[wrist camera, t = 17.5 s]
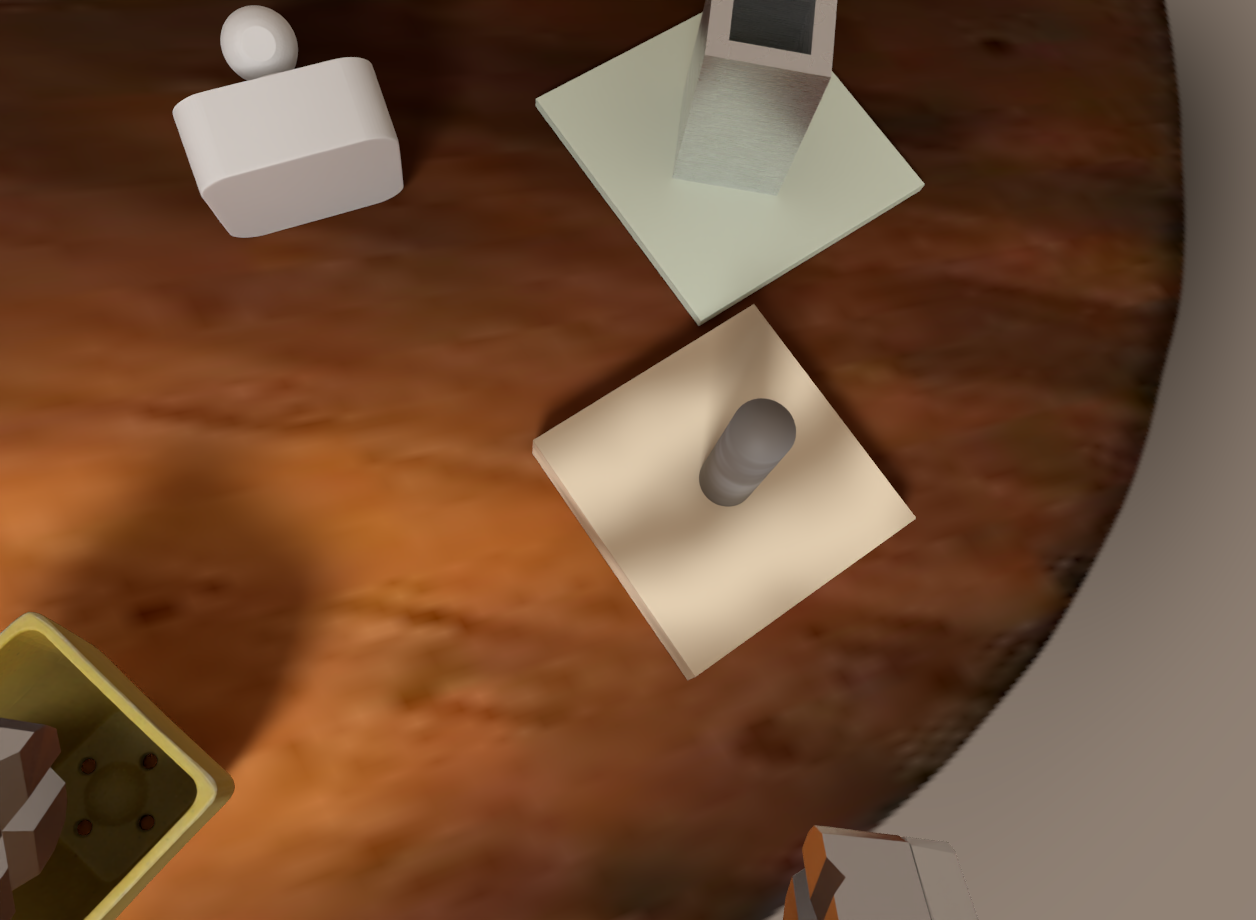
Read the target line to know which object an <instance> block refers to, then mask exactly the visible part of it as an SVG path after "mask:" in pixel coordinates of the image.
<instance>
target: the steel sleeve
mask: <svg viewBox="0 0 1256 920" xmlns="http://www.w3.org/2000/svg"><path fill="white" fill-rule="evenodd" d="M836 10H837V0H706V1H705V5H704V9H703V13H702V17H701V21H700V25H699V29H698V34H697V38H696V42H695V46H694V50H693V54H692V58H691V62H690V66H689V70H688V74H687V78H686V82H685V87H684V93H683V100H682V108H681V116H680V123H679V131H678V139H677V147H676V154H675V162H674V170H673V178H675V179H681V180H686V181H692V182H698V183H704V184H710V185H716V186H722V187H728V188H734V189H740V190H745V191H751V192H757V193H763V194H769V195H775V196H777V194H778V192H779V190H780V188H781V186H782V184H783V181H784V179H785V177H786V175H787V173H788V170H789V168H790V166H791V164H792V162H793V160H794V157H795V155H796V153H797V151H798V149H799V146H800V144H801V142H802V140H803V138H804V136H805V133H806V131H807V129H808V127H809V125H810V122H811V120H812V118H813V116H814V114H815V112H816V109H817V107H818V105H819V103H820V101H821V98H822V96H823V94H824V92H825V90H826V88H827V85H828V83H829V81H830V79H831V73H832V61H833V48H834V35H835V22H836Z"/></svg>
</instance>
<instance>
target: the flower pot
mask: <svg viewBox="0 0 1256 920" xmlns="http://www.w3.org/2000/svg"><path fill="white" fill-rule="evenodd" d="M0 718H6V719H13V720H19V721H25V722H32V723H38V724H44V725H48V726H51V727H54V728H56V729H57V733H58V739H59V744H60V749H61V753H60V754H59V756H58V757H57V758H56V760H55V761H54V763H53V764H52V766H51V768H52V769H53V770H54V772H55V773H56V774H57V775H58V776H59V777H60V778H61V779H62V780H63V781H64V782H65V783H66V792H67V809H66V818H65V823H64V826H63V828H62V831H61V834H60V837H59V839H58V842H57V845H56V848H55V850H54V852H53V853H52V855H51V857H50V858H49V860H48V862H47V863H46V865H45V866H44V868H43V870H42V871H41V873H40V874H39V875H37V876H36V877H34V878H32V879H31V880H29V881H28V882H26V883H24V884H23V885H21V886H19V887H18V888H16V889H14V890H13V891H12V893H13V899H14V904H15V910H16V912H15V914H14V915H13V917H12V918H11V920H115V919H116V918H117V917H118V916H119V915H120V913H121V912H122V911H123V910H124V909H125V908H126V907H127V906H128V905H129V904H130V903H131V902H132V900H133V899H134V898H135V897H136V896H137V895H138V894H139V893H140V892H141V891H142V890H143V889H144V888H145V887H146V885H147V884H148V883H149V882H150V881H151V880H152V879H153V878H154V877H155V876H156V875H157V874H158V873H159V872H160V871H161V870H162V868H163V867H164V866H165V865H166V864H167V863H168V862H169V861H170V860H171V859H172V858H173V857H174V856H175V855H176V854H177V853H178V852H179V851H180V850H181V849H182V848H183V846H184V845H185V844H186V843H187V842H188V841H189V840H190V839H191V838H192V837H193V836H194V835H195V834H196V833H197V832H198V831H199V830H200V829H201V828H202V827H203V826H204V825H205V824H206V823H207V822H208V821H209V820H210V819H211V818H212V817H213V816H214V815H215V814H216V813H217V812H218V811H219V810H220V809H221V808H222V807H223V806H224V805H225V803H226V802H227V801H228V800H229V799H230V798H231V796H232V794H233V792H234V788H235V785H234V781H233V779H232V777H231V776H230V775H229V774H228V773H227V772H226V771H225V770H224V769H223V768H222V767H221V766H220V765H219V764H218V763H217V762H216V761H214V760H213V759H212V758H211V757H210V756H209V755H208V754H207V753H206V752H205V751H204V750H202V749H201V748H200V747H199V746H198V745H197V744H196V743H195V742H194V741H193V740H192V739H191V738H190V737H189V736H187V735H186V734H185V733H184V732H183V731H182V730H181V729H180V728H179V727H178V726H177V725H176V724H175V723H174V722H172V721H171V720H170V719H169V718H168V717H167V716H166V715H165V714H164V713H163V712H162V711H161V710H160V709H159V708H158V707H157V706H156V705H155V704H154V703H153V702H152V701H151V700H150V699H148V698H147V697H146V696H145V695H144V694H143V693H142V692H141V691H140V690H139V689H138V688H137V687H136V686H135V685H134V684H133V683H132V682H131V681H130V680H129V679H128V678H127V677H126V676H125V675H124V674H123V673H122V672H121V671H120V670H119V669H118V668H117V667H116V666H115V665H114V664H113V663H112V662H111V661H110V660H109V659H108V658H107V657H106V656H105V655H104V654H103V653H102V652H101V651H99V650H98V649H97V648H96V647H94V646H93V645H92V644H90V643H88V642H87V641H85V640H83V639H82V638H80V637H79V636H77V635H75V634H74V633H72V632H70V631H69V630H67V629H65V628H64V627H62V626H60V625H59V624H57V623H55V622H54V621H52V620H50V619H48V618H47V617H45V616H43V615H41V614H38V613H35V612H27V613H25V614H23V615H22V616H20V617H19V618H17V619H16V620H15V621H14V622H12V623H11V624H10V625H9V626H8V627H7V628H6V629H5V630H3V631H2V632H1V633H0ZM149 754H153V755H155V756H156V757H157V764H156V766H155V767H153V768H152V769H147V768H145V767H144V766H143V759H144V758H145V756H147V755H149ZM87 759H93V760H94V761H95V762H96V768H95V770H94V771H93V772H92V773H89V774H86V773H84V772H83V771H82V770H81V766H82V764H83V762H84V761H85V760H87ZM144 815H151V816H152V817H153V818H154V820H155V822H154V825H153V827H152V828H151V829H149V830H142V829H141V828H140V826H139V821H140V819H141V818H142V817H143V816H144ZM83 820H88V821H90V822H91V823H92V830H91V832H90V833H89V834H87V835H80V834H79V833H78V831H77V827H78V824H79V823H80V822H81V821H83Z"/></svg>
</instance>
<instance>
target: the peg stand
mask: <svg viewBox="0 0 1256 920" xmlns="http://www.w3.org/2000/svg"><path fill="white" fill-rule="evenodd" d="M533 455H534V456H535V458H536V459H537V461H538V462H539V464H540V465H541V467H542V468H543V470H544V471H545V473H546V474H547V475H548V477H549V478H550V480H551V481H552V483H553V484H554V486H555V487H556V489H557V490H558V492H559V493H560V494H561V496H562V497H563V499H564V500H565V502H566V503H567V505H568V506H569V508H570V509H571V511H572V512H573V513H574V515H575V516H576V518H577V519H578V521H579V522H580V524H581V525H582V527H583V528H584V530H585V531H586V532H587V534H588V535H589V537H590V538H591V540H592V541H593V543H594V544H595V546H596V547H597V548H598V550H599V551H600V553H601V554H602V556H603V557H604V559H605V560H606V562H607V563H608V565H609V566H610V567H611V569H612V570H613V572H614V573H615V575H616V576H617V578H618V579H619V581H620V582H621V584H622V585H623V586H624V588H625V589H626V591H627V592H628V594H629V595H630V597H631V598H632V600H633V601H634V603H635V604H636V605H637V607H638V608H639V610H640V611H641V613H642V614H643V616H644V617H645V619H646V620H647V622H648V623H649V624H650V626H651V627H652V629H653V630H654V632H655V633H656V635H657V636H658V638H659V639H660V641H661V642H662V643H663V645H664V646H665V648H666V649H667V651H668V652H669V654H670V655H671V657H672V658H673V660H674V661H675V662H676V664H677V665H678V667H679V668H680V670H681V671H682V673H683V674H684V676H685V677H686V678H687V680H689V679H692V678H694V677H696V676H697V675H699V674H700V673H701V672H703V671H704V670H706V669H707V668H708V667H710V666H711V665H713V664H714V663H715V662H717V661H718V660H719V659H721V658H722V657H724V656H725V655H726V654H728V653H729V652H731V651H732V650H733V649H735V648H736V647H738V646H739V645H740V644H742V643H743V642H745V641H746V640H747V639H749V638H750V637H752V636H753V635H754V634H756V633H757V632H758V631H760V630H761V629H763V628H764V627H765V626H767V625H768V624H770V623H771V622H772V621H774V620H775V619H777V618H778V617H779V616H781V615H782V614H784V613H785V612H786V611H788V610H789V609H791V608H792V607H793V606H795V605H796V604H797V603H799V602H800V601H802V600H803V599H804V598H806V597H807V596H809V595H810V594H811V593H813V592H814V591H816V590H817V589H818V588H820V587H821V586H823V585H824V584H825V583H827V582H828V581H830V580H831V579H832V578H834V577H835V576H836V575H838V574H839V573H841V572H842V571H843V570H845V569H846V568H848V567H849V566H850V565H852V564H853V563H855V562H856V561H857V560H859V559H860V558H862V557H863V556H864V555H866V554H867V553H869V552H870V551H871V550H873V549H874V548H875V547H877V546H878V545H880V544H881V543H882V542H884V541H885V540H887V539H888V538H889V537H891V536H892V535H894V534H895V533H896V532H898V531H899V530H901V529H902V528H903V527H905V526H906V525H908V524H909V523H910V522H912V521H913V520H914V519H916V517H915V516H914V515H913V513H912V512H911V511H910V509H909V508H908V507H907V505H906V504H905V503H904V501H903V500H902V499H901V497H900V496H899V495H898V493H897V492H896V491H895V490H894V488H893V487H892V486H891V484H890V483H889V482H888V480H887V479H886V478H885V476H884V475H883V474H882V472H881V471H880V470H879V468H878V467H877V466H876V464H875V463H874V462H873V460H872V459H871V458H870V457H869V455H868V454H867V453H866V451H865V450H864V449H863V447H862V446H861V445H860V443H859V442H858V441H857V439H856V438H855V437H854V435H853V434H852V433H851V431H850V430H849V429H848V428H847V426H846V425H845V424H844V422H843V421H842V420H841V418H840V417H839V416H838V414H837V413H836V412H835V410H834V409H833V408H832V406H831V405H830V404H829V402H828V401H827V400H826V398H825V397H824V396H823V395H822V393H821V392H820V391H819V389H818V388H817V387H816V385H815V384H814V383H813V381H812V380H811V379H810V377H809V376H808V375H807V373H806V372H805V371H804V369H803V368H802V367H801V365H800V364H799V363H798V362H797V360H796V359H795V358H794V356H793V355H792V354H791V352H790V351H789V350H788V348H787V347H786V346H785V344H784V343H783V342H782V340H781V339H780V338H779V336H778V335H777V334H776V332H775V331H774V330H773V329H772V327H771V326H770V325H769V323H768V322H767V321H766V319H765V318H764V317H763V315H762V314H761V313H760V311H759V310H758V309H757V307H756V306H755V305H754V304H753V305H752V306H750V307H748V308H747V309H745V310H743V311H742V312H740V313H739V314H737V315H735V316H734V317H732V318H730V319H729V320H727V321H726V322H724V323H722V324H721V325H719V326H718V327H716V328H714V329H713V330H711V331H709V332H708V333H706V334H705V335H703V336H701V337H700V338H698V339H696V340H695V341H693V342H692V343H690V344H688V345H687V346H685V347H683V348H682V349H680V350H679V351H677V352H675V353H674V354H672V355H671V356H669V357H667V358H666V359H664V360H662V361H661V362H659V363H658V364H656V365H654V366H653V367H651V368H649V369H648V370H646V371H645V372H643V373H641V374H640V375H638V376H636V377H635V378H633V379H632V380H630V381H628V382H627V383H625V384H623V385H622V386H620V387H619V388H617V389H615V390H614V391H612V392H611V393H609V394H607V395H606V396H604V397H602V398H601V399H599V400H598V401H596V402H594V403H593V404H591V405H589V406H588V407H586V408H585V409H583V410H581V411H580V412H578V413H576V414H575V415H573V416H572V417H570V418H568V419H567V420H565V421H563V422H562V423H560V424H559V425H557V426H555V427H554V428H552V429H551V430H549V431H547V432H546V433H544V434H542V435H541V436H539V437H538V438H536V439H534V440H533Z"/></svg>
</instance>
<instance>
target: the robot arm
mask: <svg viewBox="0 0 1256 920" xmlns="http://www.w3.org/2000/svg"><path fill="white" fill-rule="evenodd" d="M60 753H61V749H60V744H59V739H58V733H57V729H56V728H54V727H51V726H48V725H44V724H38V723H32V722H25V721H19V720H13V719H6V718H0V920H11V918H12V917H13V915H14V914H15V912H16V910H15V904H14V899H13V893H12V891H13V890H14V889H16V888H18V887H19V886H21V885H23V884H24V883H26V882H28V881H29V880H31V879H32V878H34V877H36V876H37V875H39V874H40V873H41V871H42V870H43V868H44V866H45V865H46V863H47V862H48V860H49V858H50V857H51V855H52V853H53V852H54V850H55V848H56V845H57V842H58V839H59V837H60V834H61V831H62V828H63V826H64V823H65V818H66V809H67V792H66V783H65V782H64V781H63V780H62V779H61V778H60V777H59V776H58V775H57V774H56V773H55V772H54V770H53V769H52V768H51V766H52V764H53V763H54V761H55V760H56V758H57V757H58V756H59V754H60ZM802 851H803V857H804V864H805V869H803V870H802V871H800V872H799V873H797V874H796V875H794V876H793V877H792V879H791V883H790V886H789V889H788V892H787V895H786V900H785V908H784V917H783V920H978V917H977V914H976V911H975V908H974V905H973V902H972V899H971V896H970V894H969V891H968V888H967V885H966V882H965V879H964V876H963V873H962V870H961V867H960V864H959V862H958V858H957V855H956V852H955V850H954V849H953V848H952V847H951V845H950V844H949V843H948V842H943V841H935V840H927V839H919V838H911V837H900V836H897V835H889V834H881V833H873V832H865V831H856V830H848V829H840V828H832V827H823V826H815V825H814V827H813V828H812V829H811V830H810V831H809V832H808V835H807V837H806V840H805V843H804V845H803V848H802Z"/></svg>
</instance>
